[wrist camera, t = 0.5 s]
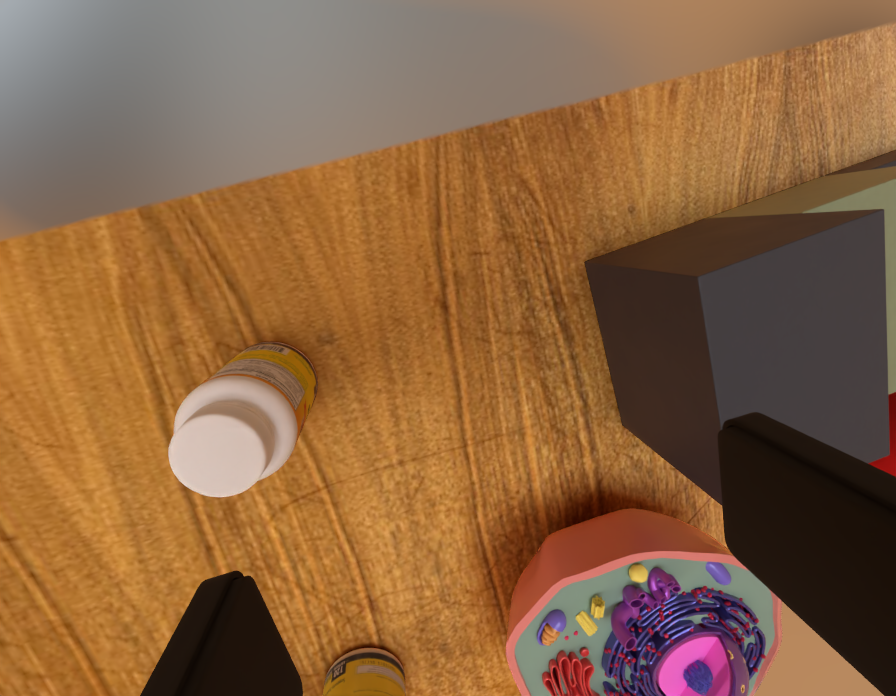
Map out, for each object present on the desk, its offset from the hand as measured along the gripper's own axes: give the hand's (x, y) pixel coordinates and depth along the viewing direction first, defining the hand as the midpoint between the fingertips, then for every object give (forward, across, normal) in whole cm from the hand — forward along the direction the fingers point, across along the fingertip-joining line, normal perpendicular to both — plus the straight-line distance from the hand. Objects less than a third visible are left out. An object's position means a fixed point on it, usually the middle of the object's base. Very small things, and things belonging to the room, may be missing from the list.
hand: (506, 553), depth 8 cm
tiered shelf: (+21, -26, +4) cm, 34 cm away
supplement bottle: (+21, +10, +1) cm, 23 cm away
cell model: (+21, -9, +23) cm, 33 cm away
